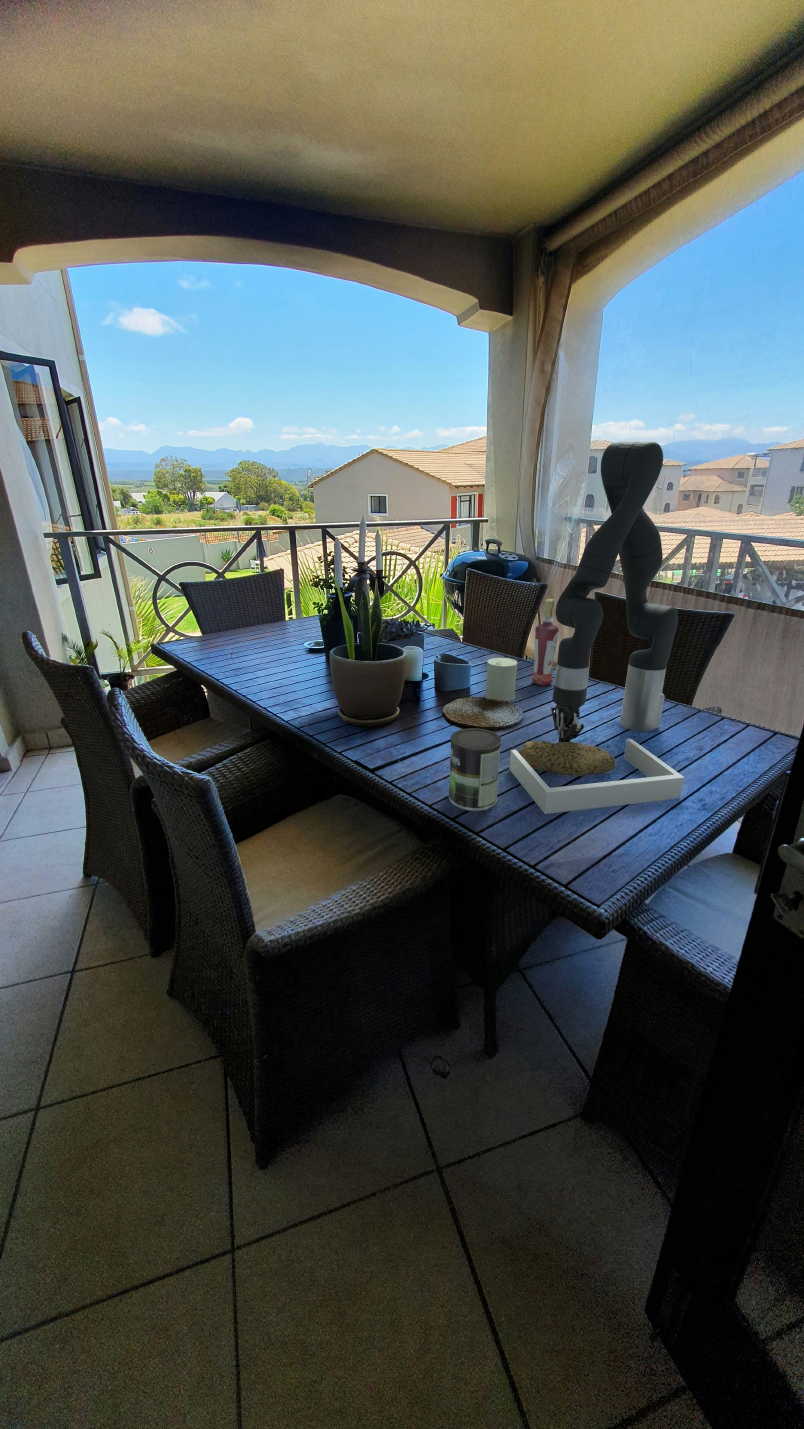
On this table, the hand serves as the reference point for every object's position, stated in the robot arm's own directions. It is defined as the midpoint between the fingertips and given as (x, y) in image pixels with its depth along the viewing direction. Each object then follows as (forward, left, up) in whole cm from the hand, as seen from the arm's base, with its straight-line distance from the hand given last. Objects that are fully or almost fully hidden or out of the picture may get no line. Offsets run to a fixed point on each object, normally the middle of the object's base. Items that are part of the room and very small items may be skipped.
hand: (563, 750), depth 136 cm
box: (0, +14, -2) cm, 14 cm away
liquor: (-17, -51, -2) cm, 54 cm away
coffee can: (+27, +15, -2) cm, 31 cm away
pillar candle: (0, -42, -2) cm, 42 cm away
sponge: (+2, +7, -2) cm, 8 cm away
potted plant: (+42, -35, -2) cm, 55 cm away
